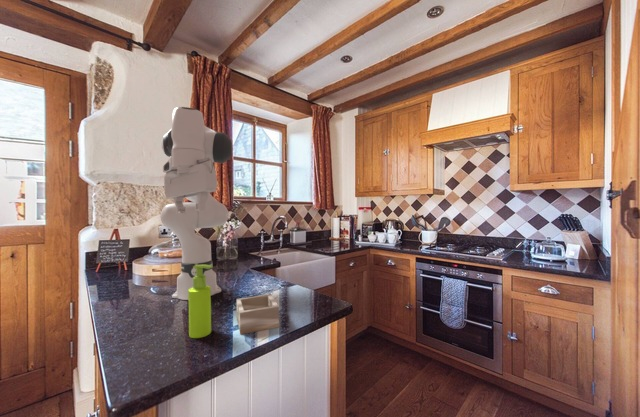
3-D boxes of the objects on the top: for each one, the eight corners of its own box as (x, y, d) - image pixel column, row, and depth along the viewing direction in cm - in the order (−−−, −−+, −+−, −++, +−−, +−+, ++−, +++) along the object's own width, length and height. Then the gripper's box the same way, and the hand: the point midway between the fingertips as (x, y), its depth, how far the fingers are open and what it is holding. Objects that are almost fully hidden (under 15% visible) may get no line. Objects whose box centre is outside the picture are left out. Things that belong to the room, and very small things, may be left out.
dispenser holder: (236, 317, 86) (236, 299, 86) (270, 311, 91) (270, 294, 91) (240, 334, 75) (240, 312, 75) (279, 326, 79) (278, 306, 79)
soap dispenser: (206, 339, 72) (205, 267, 72) (184, 337, 74) (183, 266, 73) (218, 329, 78) (217, 263, 78) (198, 327, 79) (197, 262, 79)
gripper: (222, 158, 71) (224, 208, 70) (180, 171, 82) (181, 214, 81) (201, 153, 66) (202, 207, 65) (159, 167, 77) (160, 214, 75)
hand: (190, 211), depth 73 cm, fingers open, 8 cm apart
